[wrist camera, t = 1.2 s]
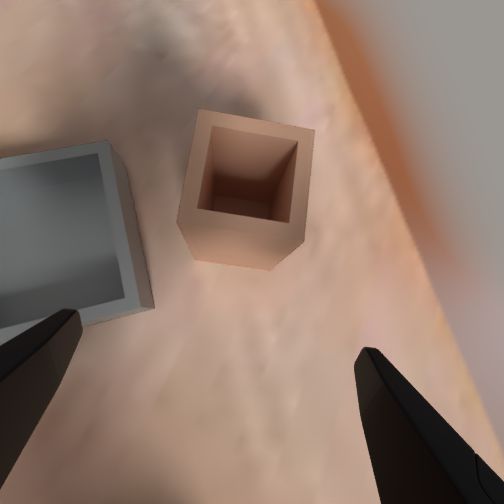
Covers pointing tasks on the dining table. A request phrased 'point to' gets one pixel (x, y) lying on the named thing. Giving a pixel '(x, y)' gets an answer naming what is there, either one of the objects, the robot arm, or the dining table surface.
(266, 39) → the dining table surface
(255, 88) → the dining table surface
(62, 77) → the dining table surface
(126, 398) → the dining table surface
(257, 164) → the terracotta bin
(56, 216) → the grey square tray
